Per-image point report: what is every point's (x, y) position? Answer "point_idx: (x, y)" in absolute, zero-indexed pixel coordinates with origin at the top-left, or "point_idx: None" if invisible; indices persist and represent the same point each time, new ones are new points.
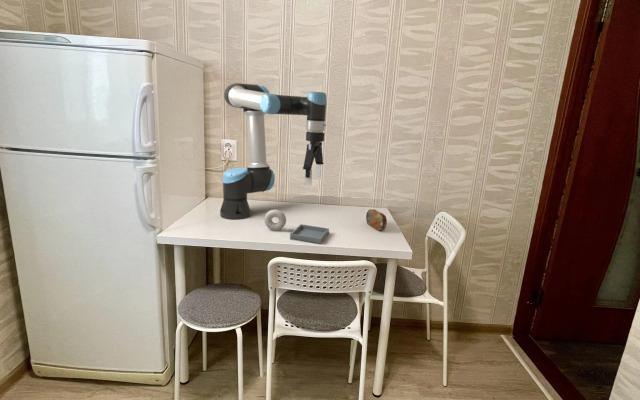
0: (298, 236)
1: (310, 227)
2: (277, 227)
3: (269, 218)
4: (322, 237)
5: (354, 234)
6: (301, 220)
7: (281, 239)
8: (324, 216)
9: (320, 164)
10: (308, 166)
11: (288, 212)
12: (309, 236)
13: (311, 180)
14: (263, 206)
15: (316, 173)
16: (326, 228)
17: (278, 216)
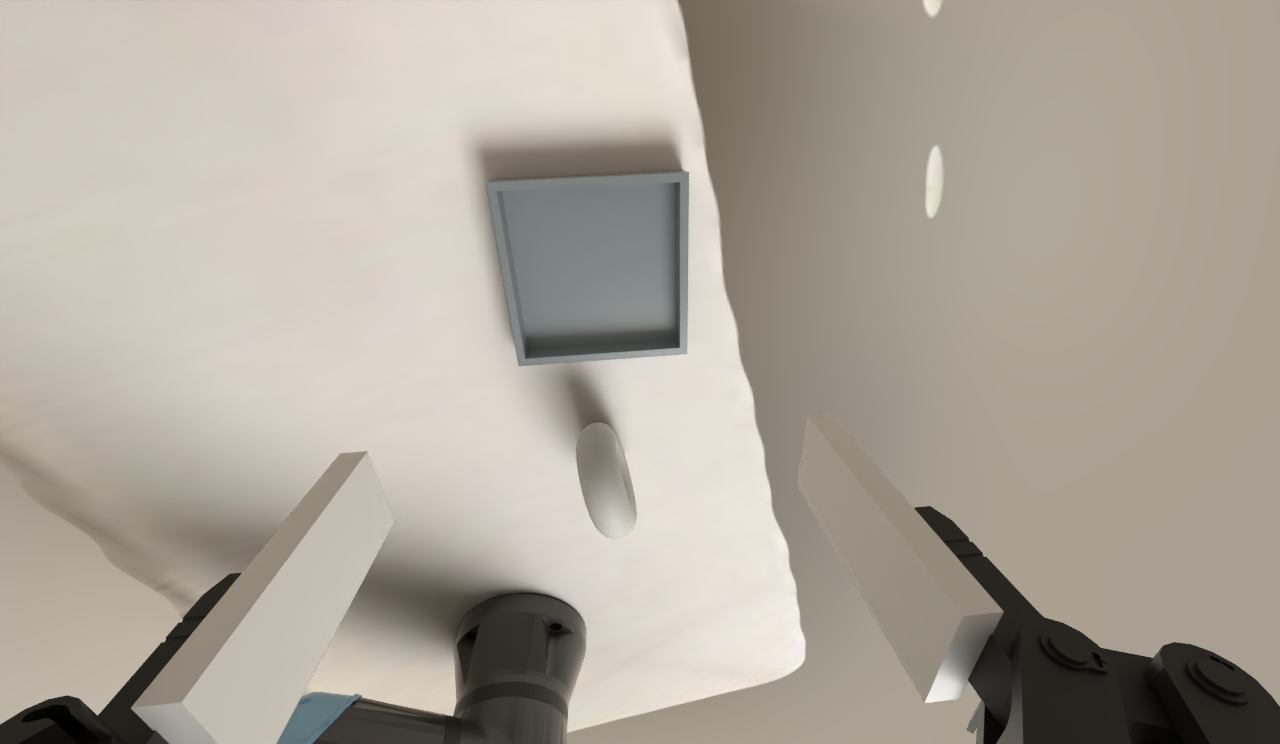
0: (686, 307)
1: (517, 302)
2: (619, 441)
3: (631, 502)
4: (647, 174)
5: None
6: (391, 400)
7: (699, 374)
8: (206, 311)
9: (82, 732)
10: (1269, 725)
11: None
12: (619, 265)
13: (841, 458)
14: None
15: (343, 568)
16: (495, 198)
17: (621, 476)
